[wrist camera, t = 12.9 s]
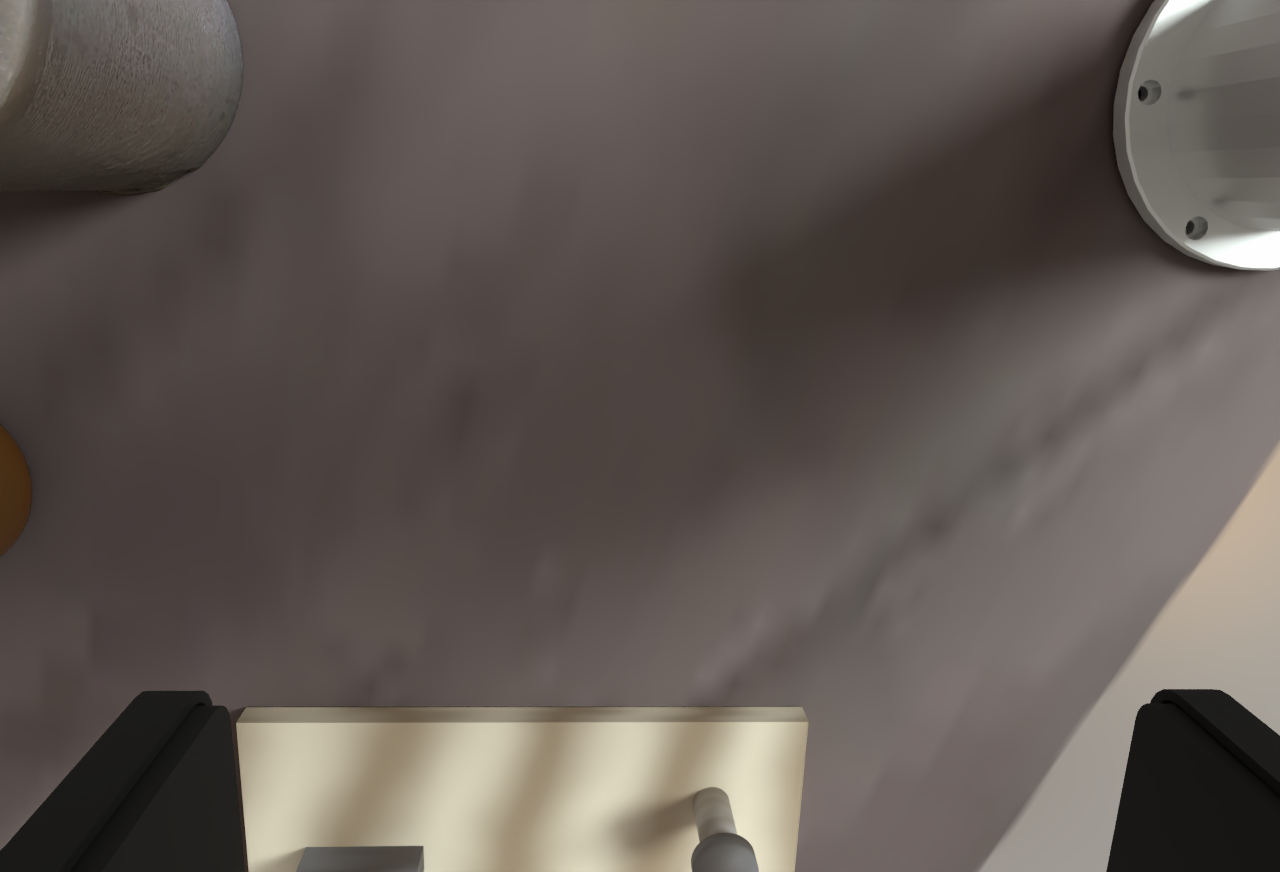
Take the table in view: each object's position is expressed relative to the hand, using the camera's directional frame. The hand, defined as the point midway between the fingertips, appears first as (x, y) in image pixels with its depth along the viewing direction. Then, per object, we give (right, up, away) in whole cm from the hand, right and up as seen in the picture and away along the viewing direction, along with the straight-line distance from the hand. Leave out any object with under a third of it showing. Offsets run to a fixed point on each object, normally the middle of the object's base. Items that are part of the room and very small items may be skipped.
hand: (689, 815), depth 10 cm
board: (-6, -15, +33) cm, 36 cm away
